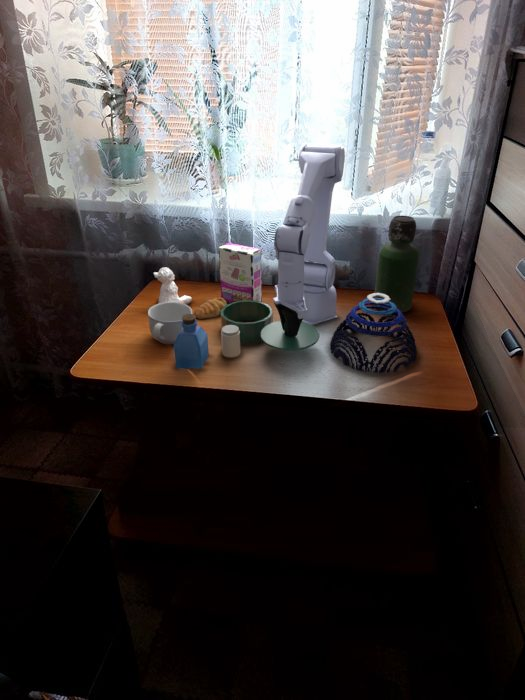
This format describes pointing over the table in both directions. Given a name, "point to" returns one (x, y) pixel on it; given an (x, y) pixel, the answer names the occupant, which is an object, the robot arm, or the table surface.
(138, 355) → the table surface
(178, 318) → the teacup
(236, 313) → the pot
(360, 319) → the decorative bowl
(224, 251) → the candy bar box
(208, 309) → the pastry
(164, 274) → the seated beast figurine
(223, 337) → the salt shaker
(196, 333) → the perfume bottle
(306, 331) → the lid
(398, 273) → the green bottle
